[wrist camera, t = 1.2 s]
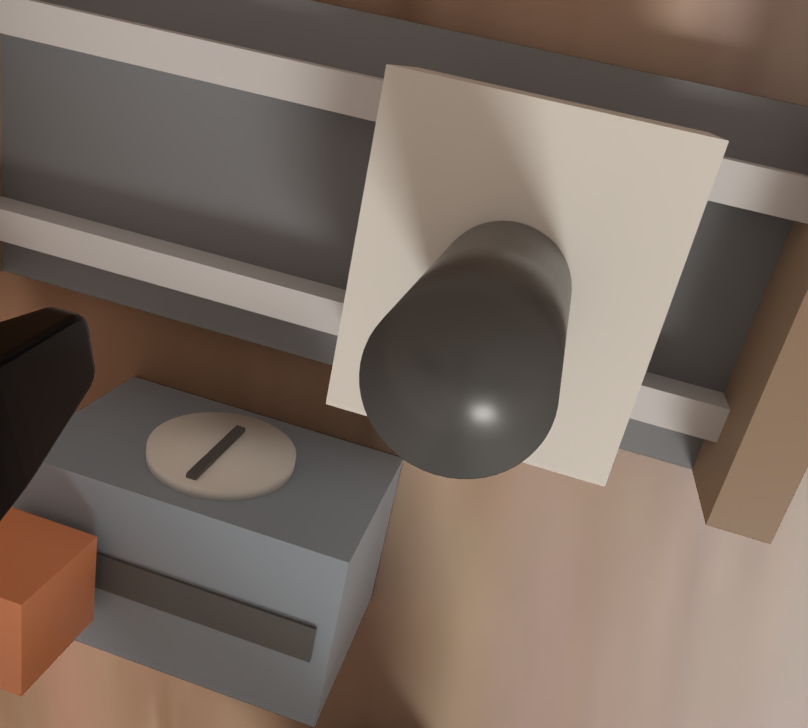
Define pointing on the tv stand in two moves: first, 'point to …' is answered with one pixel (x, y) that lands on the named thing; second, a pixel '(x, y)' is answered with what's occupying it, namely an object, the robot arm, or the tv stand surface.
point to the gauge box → (221, 540)
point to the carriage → (512, 273)
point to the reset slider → (41, 594)
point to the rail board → (343, 191)
